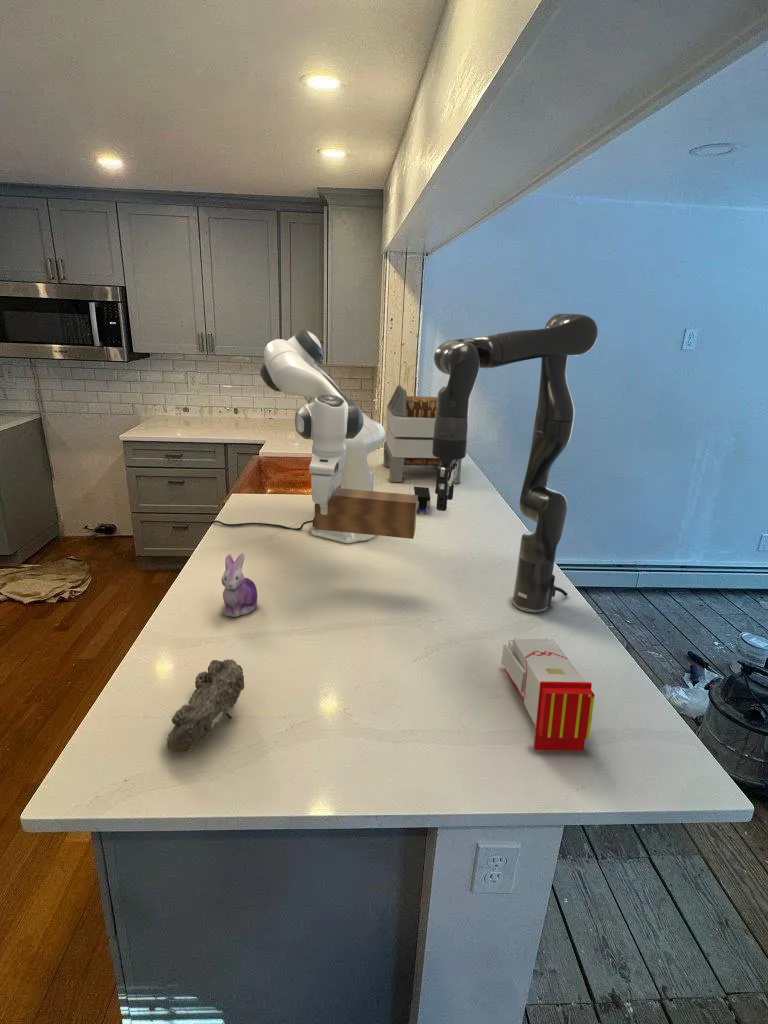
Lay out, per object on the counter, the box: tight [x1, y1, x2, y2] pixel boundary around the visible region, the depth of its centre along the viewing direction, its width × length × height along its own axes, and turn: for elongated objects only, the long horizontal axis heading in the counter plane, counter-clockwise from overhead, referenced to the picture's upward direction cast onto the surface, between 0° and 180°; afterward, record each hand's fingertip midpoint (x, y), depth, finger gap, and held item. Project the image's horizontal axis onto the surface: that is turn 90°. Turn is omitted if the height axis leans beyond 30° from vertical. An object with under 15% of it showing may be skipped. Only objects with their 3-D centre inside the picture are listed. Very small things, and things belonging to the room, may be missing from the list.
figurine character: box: [413, 486, 431, 515], centre depth 224 cm, size 7×8×15 cm
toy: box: [500, 637, 595, 752], centre depth 114 cm, size 12×13×30 cm
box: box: [314, 487, 418, 540], centre depth 151 cm, size 27×6×10 cm, turn 83°
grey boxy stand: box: [383, 384, 463, 484], centre depth 268 cm, size 34×33×41 cm
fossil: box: [166, 658, 245, 754], centre depth 106 cm, size 22×10×15 cm
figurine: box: [220, 553, 258, 618], centre depth 144 cm, size 9×10×15 cm
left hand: (327, 508), depth 152 cm, fingers closed on box, 6 cm apart
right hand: (444, 504), depth 131 cm, fingers open, 8 cm apart
